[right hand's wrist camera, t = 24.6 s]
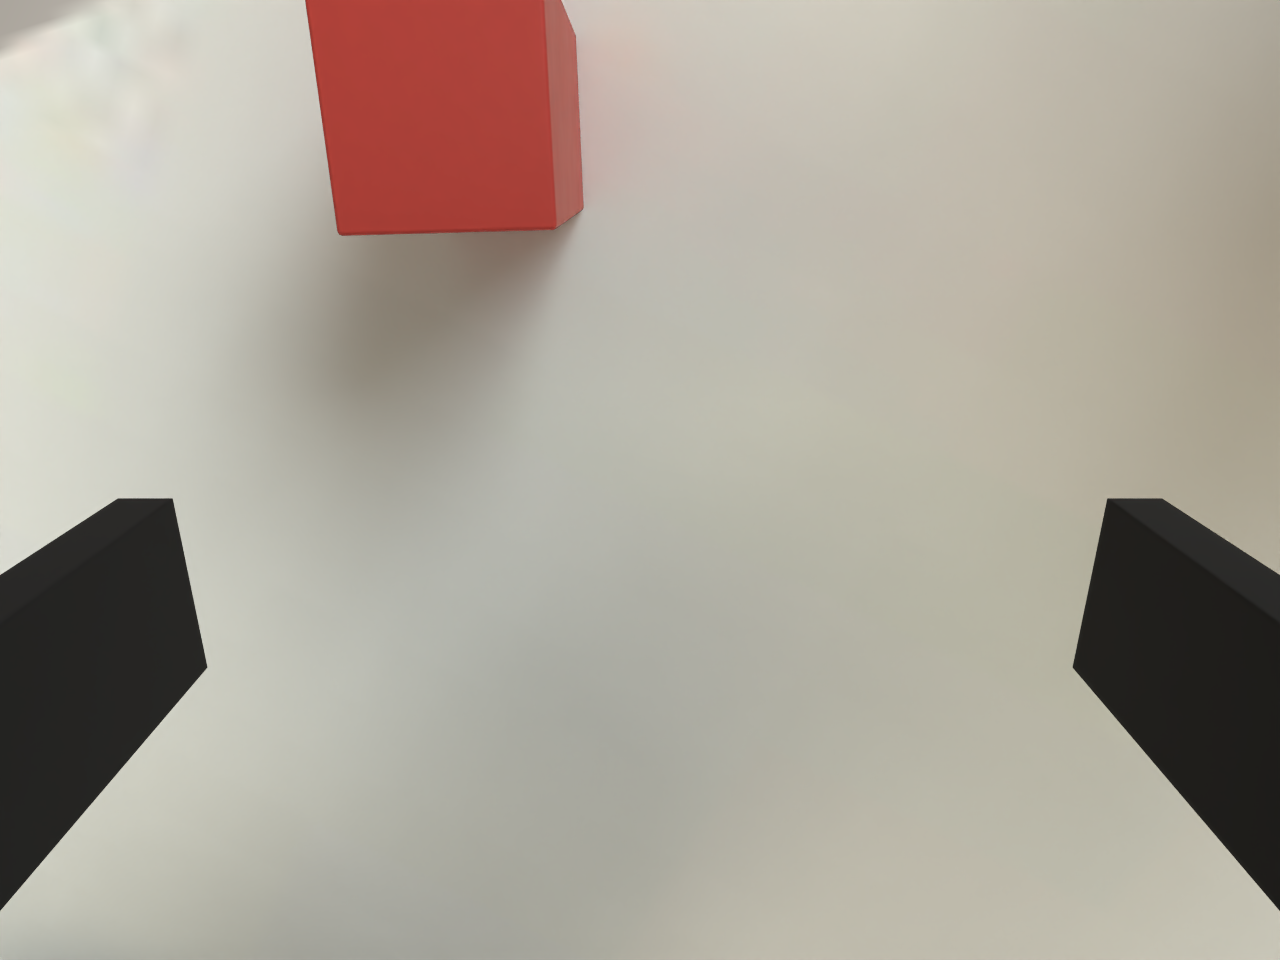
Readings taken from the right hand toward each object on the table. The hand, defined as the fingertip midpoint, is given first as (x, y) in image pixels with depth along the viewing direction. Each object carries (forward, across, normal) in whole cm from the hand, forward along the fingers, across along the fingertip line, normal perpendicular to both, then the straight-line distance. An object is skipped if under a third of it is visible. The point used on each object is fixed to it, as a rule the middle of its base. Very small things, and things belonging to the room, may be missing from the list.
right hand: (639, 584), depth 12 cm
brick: (+19, +4, -7) cm, 21 cm away
